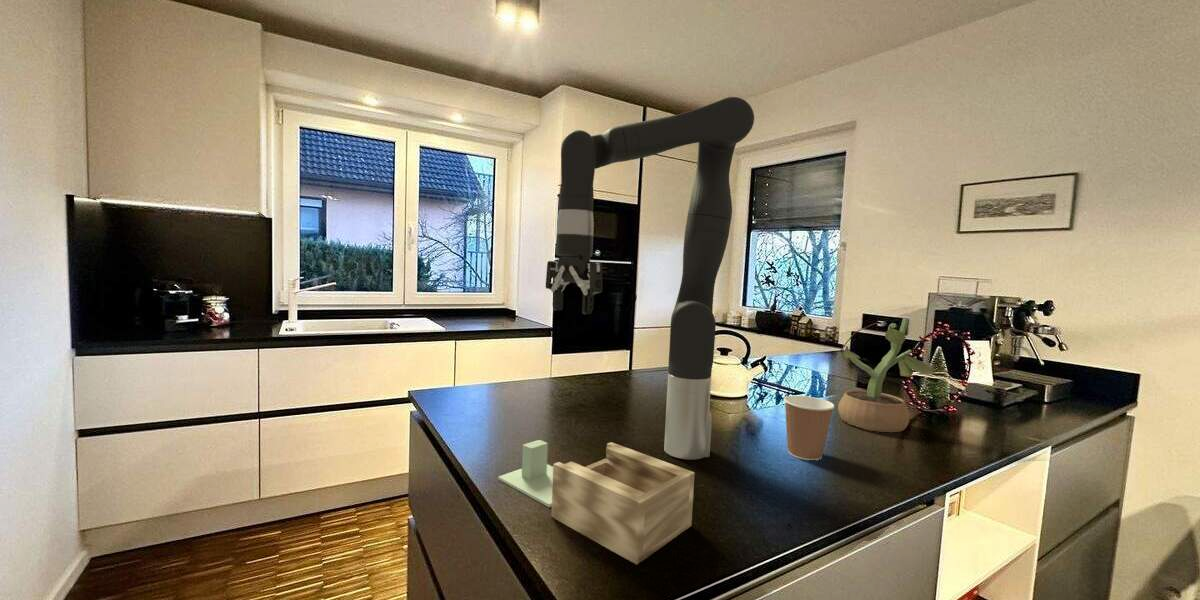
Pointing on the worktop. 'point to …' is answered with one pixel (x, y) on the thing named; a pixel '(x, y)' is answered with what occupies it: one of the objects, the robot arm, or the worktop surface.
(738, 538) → the worktop surface
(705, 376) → the robot arm
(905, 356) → the potted plant
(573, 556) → the worktop surface
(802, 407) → the coffee cup
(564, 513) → the box
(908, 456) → the worktop surface
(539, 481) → the lid
